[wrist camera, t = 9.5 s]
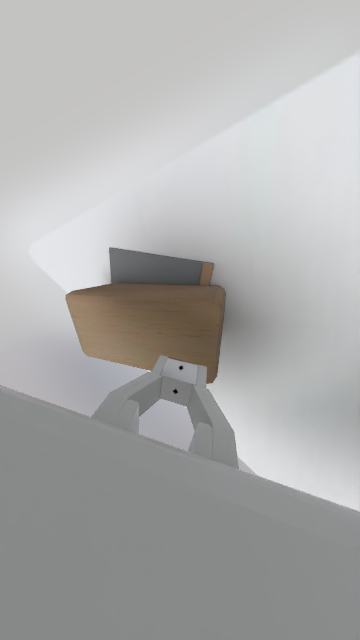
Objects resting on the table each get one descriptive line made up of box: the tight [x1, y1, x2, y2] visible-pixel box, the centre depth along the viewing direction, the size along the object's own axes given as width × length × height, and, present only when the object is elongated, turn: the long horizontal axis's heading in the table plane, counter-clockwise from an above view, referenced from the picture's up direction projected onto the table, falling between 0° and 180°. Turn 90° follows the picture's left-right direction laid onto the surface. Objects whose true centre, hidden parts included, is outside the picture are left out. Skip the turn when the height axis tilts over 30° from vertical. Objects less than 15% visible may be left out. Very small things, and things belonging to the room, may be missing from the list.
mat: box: [109, 248, 214, 286], centre depth 25 cm, size 18×13×2 cm
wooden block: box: [66, 283, 226, 384], centre depth 21 cm, size 10×10×20 cm
